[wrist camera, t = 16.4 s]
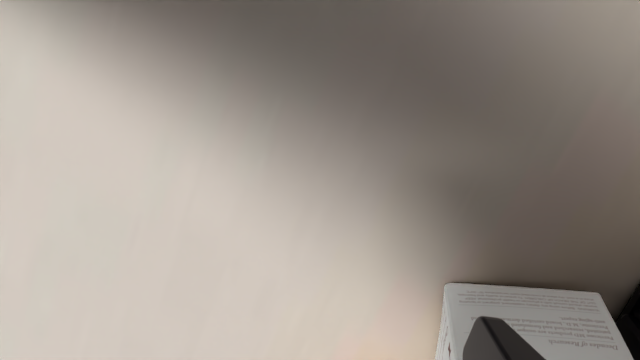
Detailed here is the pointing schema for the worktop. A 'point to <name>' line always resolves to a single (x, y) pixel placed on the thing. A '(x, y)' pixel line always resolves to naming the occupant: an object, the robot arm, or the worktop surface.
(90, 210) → the worktop surface
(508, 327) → the robot arm
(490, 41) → the worktop surface
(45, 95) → the worktop surface
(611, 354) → the supplement box
